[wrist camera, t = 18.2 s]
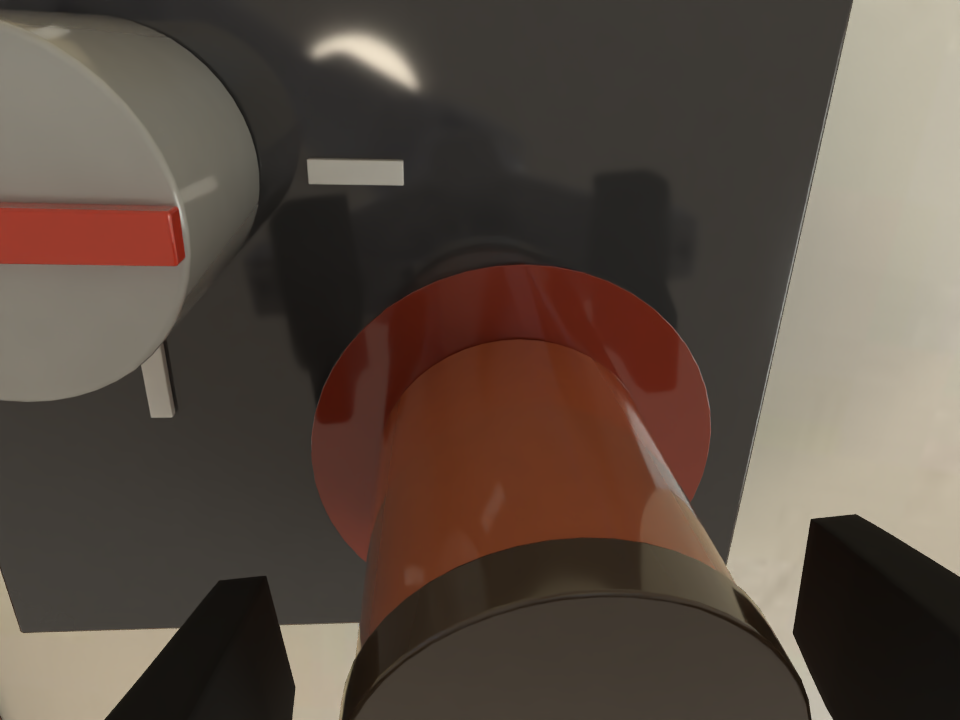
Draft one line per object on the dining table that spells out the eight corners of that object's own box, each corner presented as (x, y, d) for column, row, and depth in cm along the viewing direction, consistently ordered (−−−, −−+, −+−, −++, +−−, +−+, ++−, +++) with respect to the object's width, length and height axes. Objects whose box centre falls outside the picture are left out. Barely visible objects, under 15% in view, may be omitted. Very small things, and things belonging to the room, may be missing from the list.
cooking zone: (296, 261, 11) (294, 262, 11) (742, 264, 12) (745, 266, 11) (324, 610, 14) (324, 614, 14) (677, 599, 15) (679, 603, 15)
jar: (313, 463, 12) (227, 794, 7) (523, 272, 11) (612, 496, 6) (504, 609, 14) (552, 963, 9) (702, 457, 13) (901, 762, 8)
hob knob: (7, 296, 11) (-185, 418, 7) (-67, 7, 9) (-359, -7, 6) (271, 299, 11) (203, 418, 8) (246, 20, 10) (145, 15, 6)
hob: (-177, -158, 10) (-322, -203, 8) (811, -110, 11) (893, -139, 9) (38, 565, 16) (-18, 642, 14) (685, 550, 17) (719, 619, 15)
